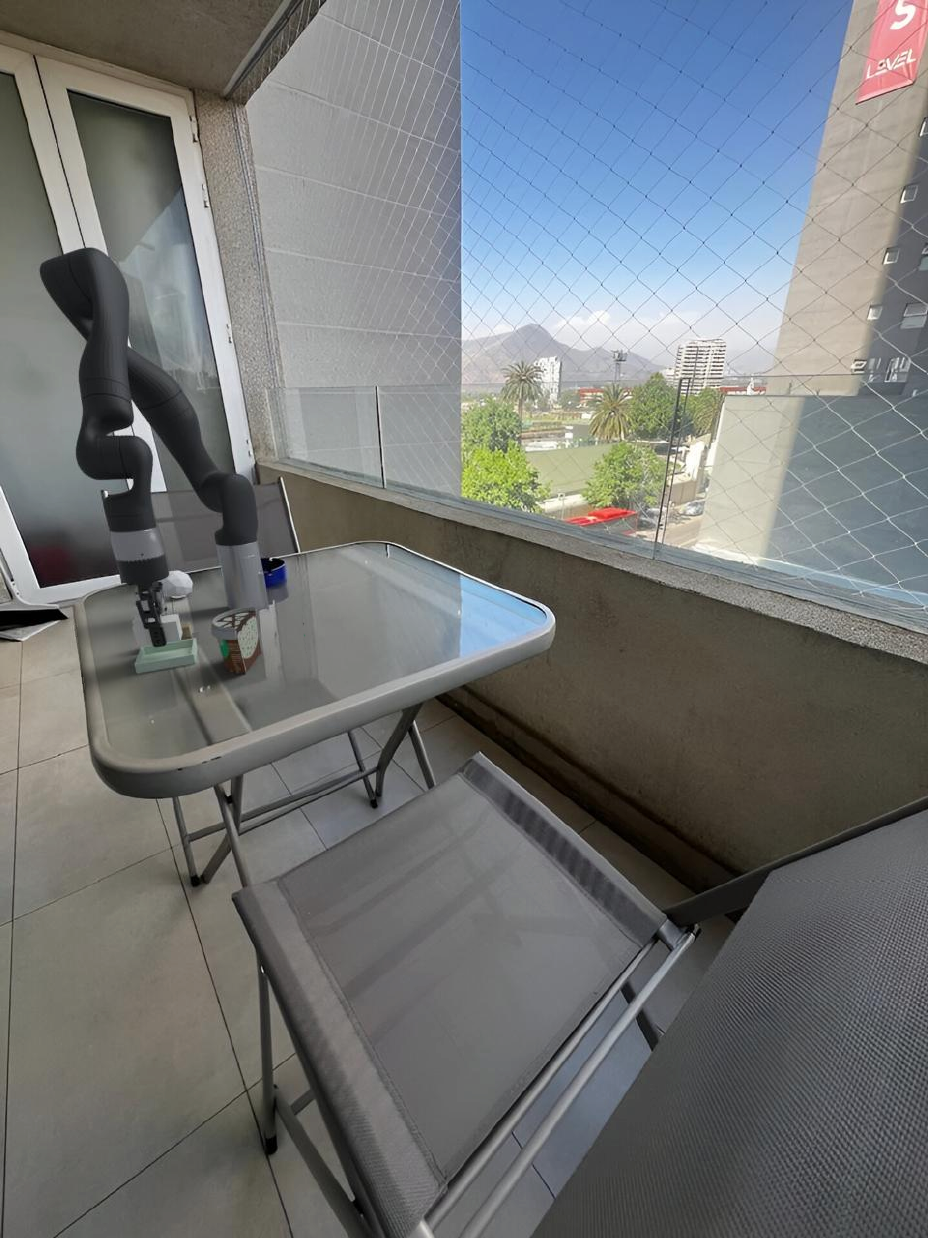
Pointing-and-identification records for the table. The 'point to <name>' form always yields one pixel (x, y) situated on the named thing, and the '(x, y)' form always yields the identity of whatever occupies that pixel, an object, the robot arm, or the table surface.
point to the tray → (166, 656)
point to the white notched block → (169, 626)
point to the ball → (177, 584)
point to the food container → (238, 638)
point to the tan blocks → (186, 631)
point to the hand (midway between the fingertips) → (161, 640)
